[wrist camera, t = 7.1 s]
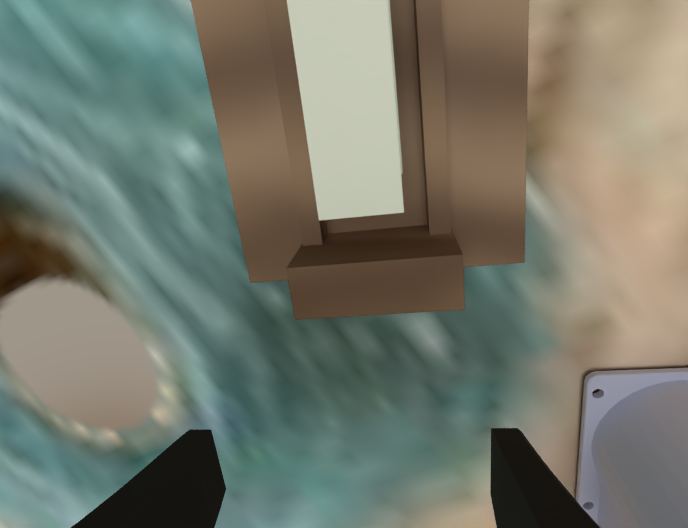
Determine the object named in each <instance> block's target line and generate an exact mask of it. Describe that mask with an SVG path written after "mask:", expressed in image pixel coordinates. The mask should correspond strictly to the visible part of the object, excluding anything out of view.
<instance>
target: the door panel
mask: <svg viewBox="0 0 688 528" xmlns="http://www.w3.org/2000/svg"><path fill="white" fill-rule="evenodd" d="M287 6H288V12H289V19H290V26H291V33H292V40H293V47H294V54H295V60H296V67H297V74H298V81H299V88H300V95H301V102H302V108H303V115H304V122H305V129H306V136H307V143H308V150H309V156H310V163H311V170H312V177H313V184H314V191H315V198H316V204H317V211H318V218H319V220H330V219H340V218H351V217H362V216H372V215H383V214H394V213H404V205H403V191H402V178H401V174H403V169H402V156H401V143H400V130H399V117H398V104H397V91H396V78H395V65H394V52H393V39H392V26H391V13H390V0H287Z"/></svg>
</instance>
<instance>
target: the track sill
mask: <svg viewBox="0 0 688 528" xmlns="http://www.w3.org/2000/svg"><path fill="white" fill-rule="evenodd" d="M191 3H192V8H193V13H194V17H195V22H196V27H197V32H198V36H199V41H200V46H201V51H202V55H203V60H204V65H205V70H206V75H207V79H208V84H209V89H210V94H211V98H212V103H213V108H214V113H215V117H216V122H217V127H218V132H219V136H220V141H221V146H222V151H223V155H224V160H225V165H226V170H227V174H228V179H229V184H230V189H231V193H232V198H233V203H234V208H235V213H236V217H237V222H238V227H239V232H240V236H241V241H242V246H243V251H244V255H245V260H246V265H247V270H248V274H249V279H250V283H255V282H269V281H282V280H288V282H289V288H290V294H291V299H292V305H293V310H294V316H295V320H299V319H315V318H332V317H348V316H365V315H382V314H398V313H415V312H432V311H448V310H465V298H464V268H463V267H472V266H485V265H499V264H512V263H524V261H525V201H526V140H527V80H528V19H529V0H390V13H391V26H392V39H393V52H394V65H395V78H396V91H397V104H398V117H399V130H400V143H401V156H402V169H403V174H401V178H402V191H403V205H404V213H394V214H383V215H372V216H362V217H351V218H340V219H330V220H319V218H318V211H317V204H316V198H315V191H314V184H313V177H312V170H311V163H310V156H309V150H308V143H307V136H306V129H305V122H304V115H303V108H302V102H301V95H300V88H299V81H298V74H297V67H296V60H295V54H294V47H293V40H292V33H291V26H290V19H289V12H288V6H287V0H191Z"/></svg>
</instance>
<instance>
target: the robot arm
mask: <svg viewBox="0 0 688 528" xmlns="http://www.w3.org/2000/svg"><path fill="white" fill-rule="evenodd" d="M596 389H600V391H598V392H597V393H592V392H593V391H594V390H596ZM225 490H226V487H225V483H224V479H223V475H222V471H221V467H220V463H219V459H218V455H217V451H216V447H215V443H214V439H213V436H212V432H211V430H189V431H187V432H186V433H185V434H184V435H182V436H181V437H180V438H179V439H178V440H176V441H175V442H174V443H173V444H172V445H171V446H169V447H168V448H167V449H166V450H165V451H164V452H162V453H161V454H160V455H159V456H158V457H157V458H156V459H154V460H153V461H152V462H151V463H150V464H149V465H147V466H146V467H145V468H144V469H143V470H142V471H140V472H139V473H138V474H137V475H136V476H135V477H133V478H132V479H131V480H130V481H129V482H128V483H126V484H125V485H124V486H123V487H122V488H120V489H119V490H118V491H117V492H116V493H114V494H113V495H112V496H111V497H109V498H108V499H107V500H106V501H104V502H103V503H102V504H100V505H99V506H98V507H97V508H95V509H94V510H93V511H92V512H90V513H89V514H88V515H87V516H85V517H84V518H83V519H82V520H80V521H79V522H78V523H76V524H75V525H74V526H72V527H71V528H214V527H215V524H216V520H217V517H218V514H219V511H220V508H221V504H222V501H223V497H224V494H225ZM491 498H492V503H493V509H494V514H495V520H496V525H497V528H688V368H667V369H641V370H615V371H595V372H591V373H589V374H588V375H587V376H586V377H585V380H584V391H583V405H582V419H581V433H580V447H579V461H578V475H577V488H576V500H575V499H574V497H573V496H572V495H571V494H570V493H569V492H568V491H567V489H566V488H565V487H564V486H563V485H562V484H561V482H560V481H559V480H558V479H557V477H556V476H555V475H554V474H553V473H552V471H551V470H550V469H549V467H548V466H547V465H546V464H545V462H544V461H543V460H542V459H541V457H540V456H539V455H538V453H537V452H536V451H535V449H534V448H533V447H532V445H531V444H530V443H529V441H528V440H527V439H526V437H525V436H524V434H523V433H522V432H521V431H520V430H519V429H518V428H491ZM586 502H588V503H586Z"/></svg>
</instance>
